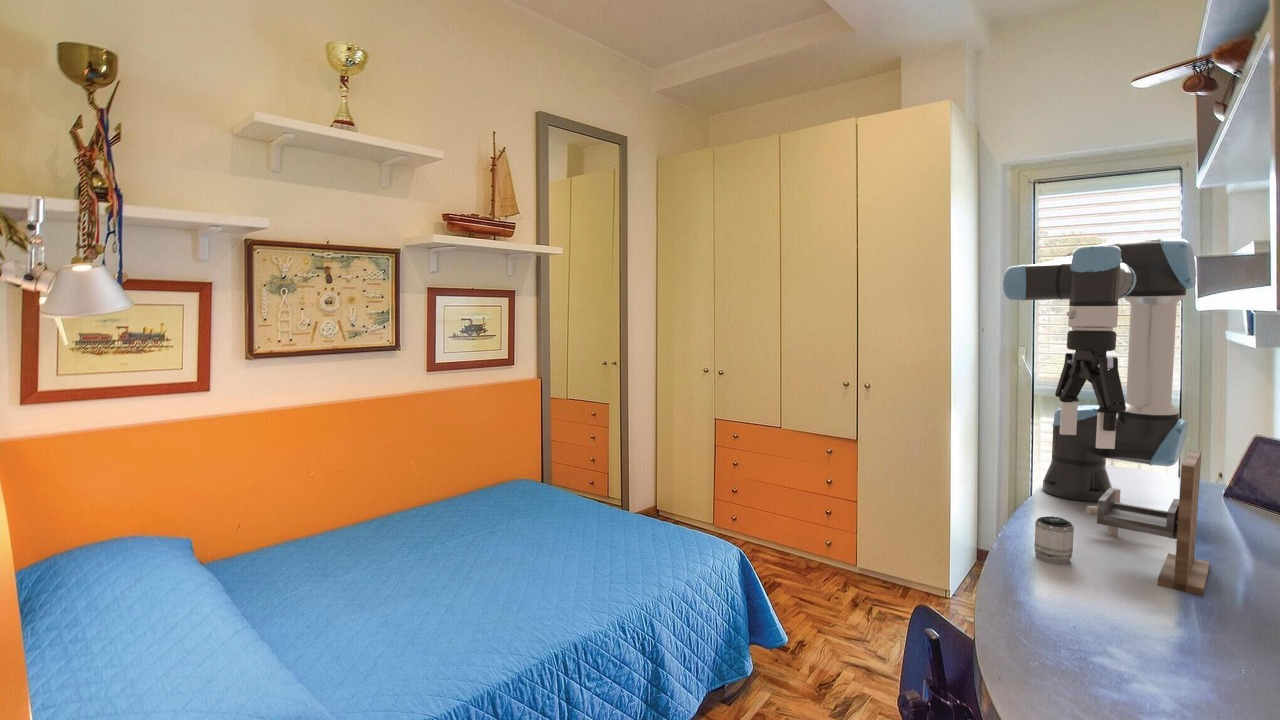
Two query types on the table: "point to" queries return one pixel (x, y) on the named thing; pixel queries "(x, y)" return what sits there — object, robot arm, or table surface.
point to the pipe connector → (1094, 511)
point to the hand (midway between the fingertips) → (1085, 441)
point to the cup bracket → (1167, 528)
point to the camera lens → (1053, 540)
